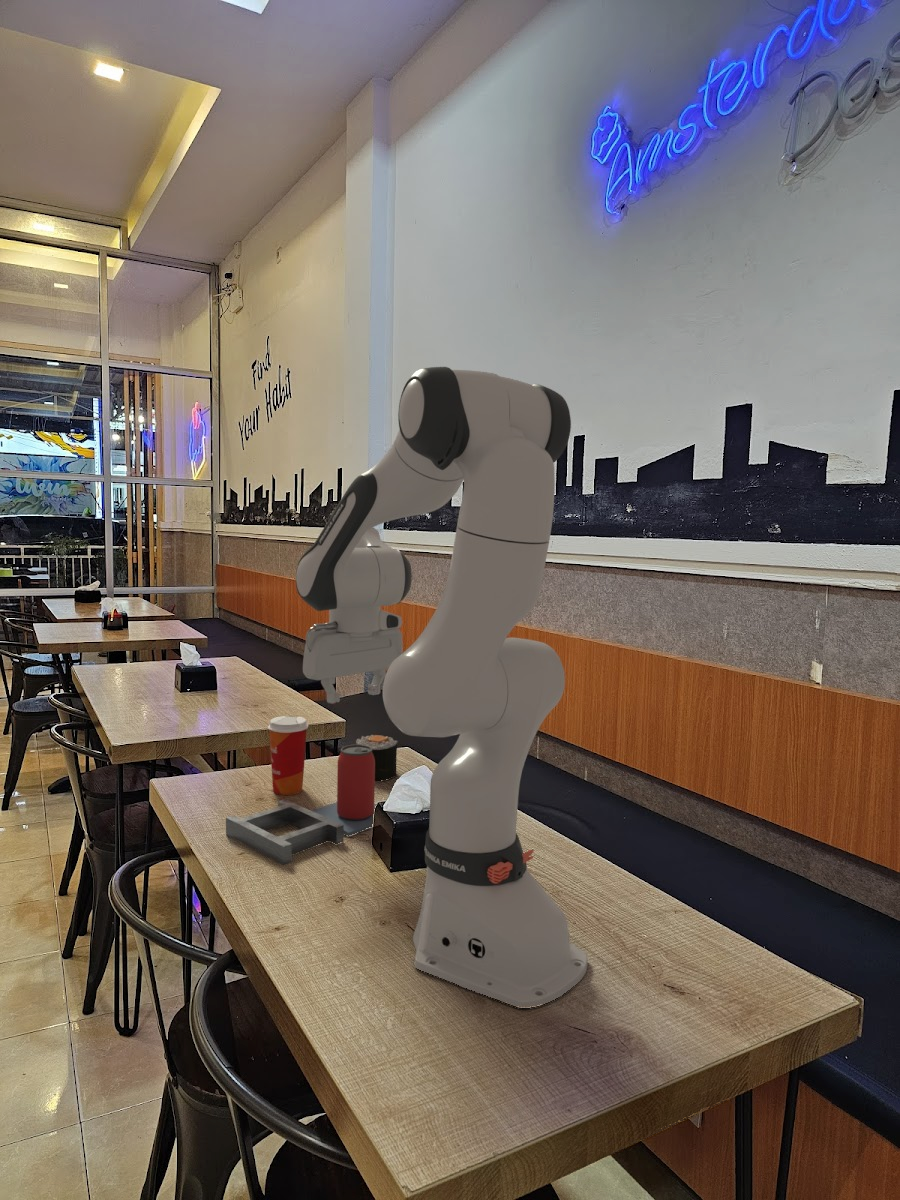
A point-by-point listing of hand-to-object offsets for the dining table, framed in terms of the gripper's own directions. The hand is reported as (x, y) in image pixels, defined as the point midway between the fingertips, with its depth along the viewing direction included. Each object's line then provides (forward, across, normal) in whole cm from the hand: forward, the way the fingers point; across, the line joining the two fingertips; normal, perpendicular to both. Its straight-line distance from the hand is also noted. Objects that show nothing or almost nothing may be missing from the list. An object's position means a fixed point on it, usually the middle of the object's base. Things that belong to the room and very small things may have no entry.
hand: (354, 698), depth 136 cm
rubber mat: (+22, +1, +1) cm, 22 cm away
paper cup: (+22, 0, +20) cm, 30 cm away
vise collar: (+22, -13, +2) cm, 26 cm away
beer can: (+21, +1, 0) cm, 21 cm away
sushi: (+22, +19, +15) cm, 33 cm away
